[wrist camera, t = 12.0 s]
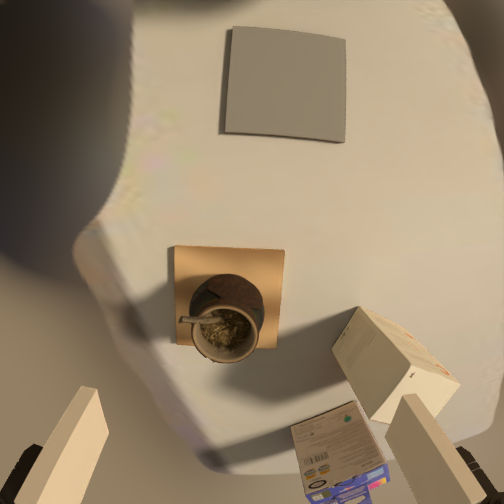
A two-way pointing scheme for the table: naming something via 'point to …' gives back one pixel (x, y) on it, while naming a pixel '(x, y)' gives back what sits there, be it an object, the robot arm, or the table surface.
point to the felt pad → (286, 84)
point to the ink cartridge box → (339, 456)
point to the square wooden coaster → (229, 262)
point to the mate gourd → (225, 318)
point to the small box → (389, 367)
